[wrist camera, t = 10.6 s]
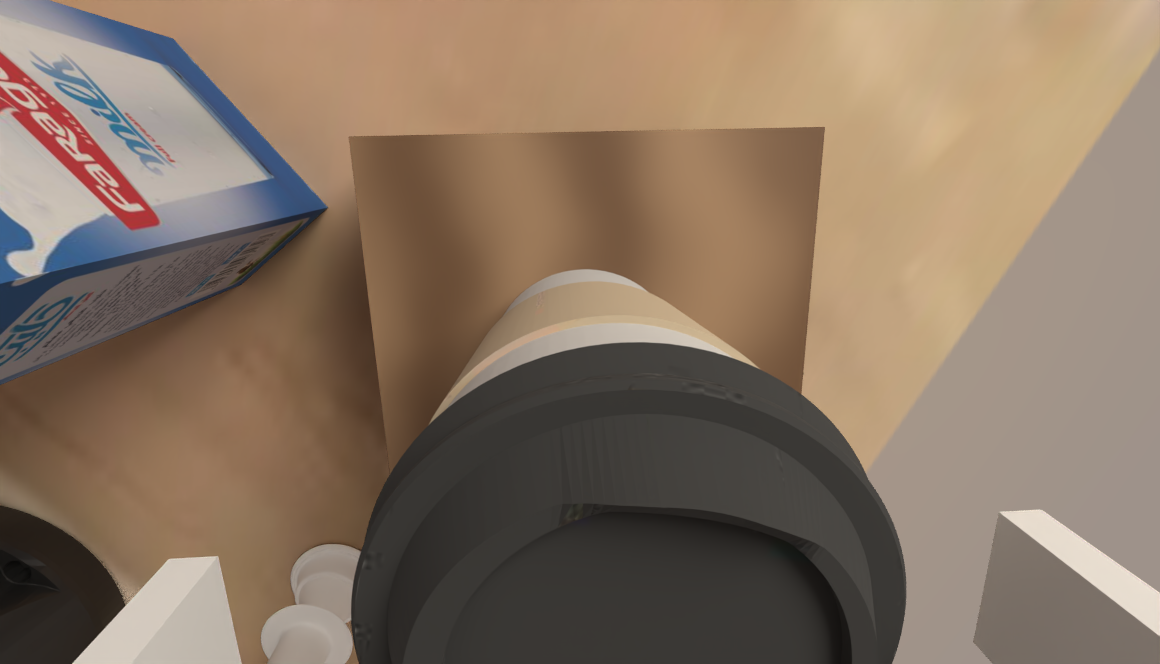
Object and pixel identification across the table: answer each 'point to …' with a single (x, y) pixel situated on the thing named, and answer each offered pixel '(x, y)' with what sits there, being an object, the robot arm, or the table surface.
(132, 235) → the milk carton
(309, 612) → the candle
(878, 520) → the coffee cup
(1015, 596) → the robot arm
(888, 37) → the table surface
